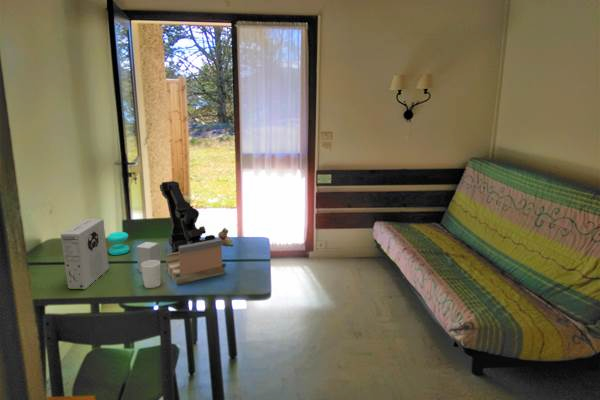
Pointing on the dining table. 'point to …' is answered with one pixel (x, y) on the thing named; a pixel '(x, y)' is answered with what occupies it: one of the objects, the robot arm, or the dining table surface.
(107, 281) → the dining table surface
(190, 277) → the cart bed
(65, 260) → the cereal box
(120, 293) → the dining table surface
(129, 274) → the dining table surface
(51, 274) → the dining table surface
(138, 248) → the supplement box
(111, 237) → the donuts
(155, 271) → the white cup
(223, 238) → the chocolate bunny
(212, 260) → the panel
